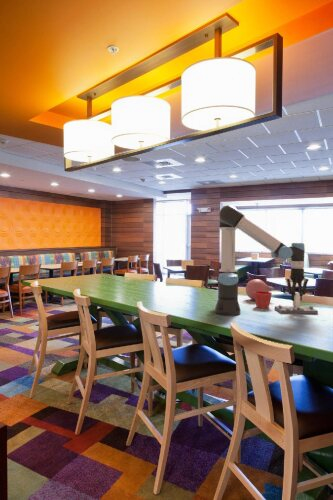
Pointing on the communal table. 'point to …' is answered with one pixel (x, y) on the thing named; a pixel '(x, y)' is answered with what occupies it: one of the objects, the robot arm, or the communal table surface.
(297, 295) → the fader tab
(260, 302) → the flower pot
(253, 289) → the balloon
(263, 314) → the communal table surface
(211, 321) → the communal table surface
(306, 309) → the console
